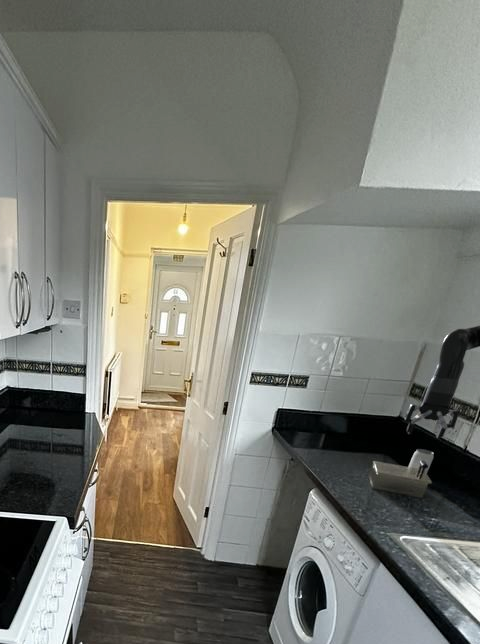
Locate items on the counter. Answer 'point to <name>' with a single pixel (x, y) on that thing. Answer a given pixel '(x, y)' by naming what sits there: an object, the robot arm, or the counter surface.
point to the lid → (403, 471)
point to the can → (421, 458)
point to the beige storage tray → (396, 484)
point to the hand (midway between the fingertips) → (423, 435)
